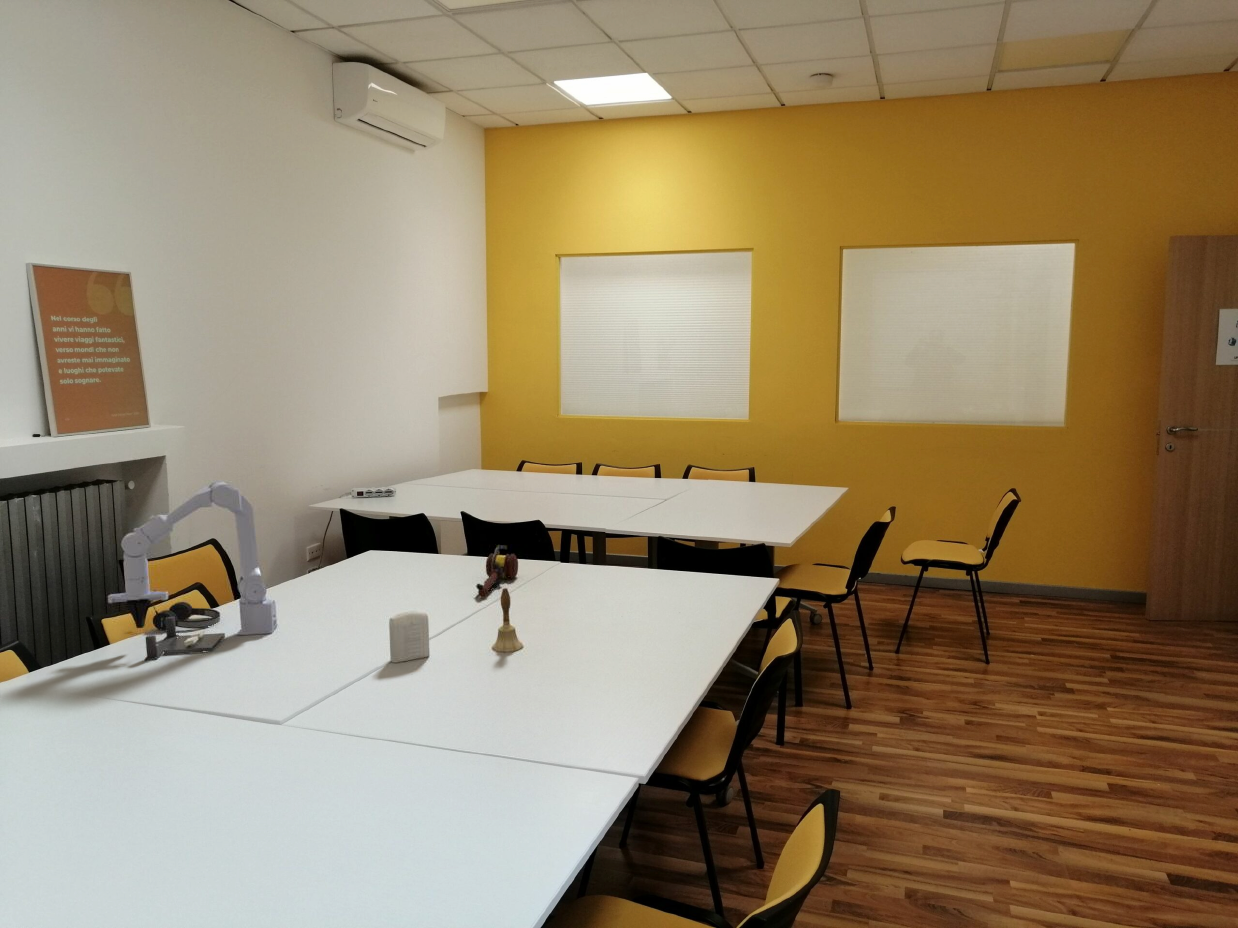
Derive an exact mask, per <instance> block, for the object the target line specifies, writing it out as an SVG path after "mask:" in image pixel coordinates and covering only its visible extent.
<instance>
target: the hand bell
mask: <svg viewBox="0 0 1238 928" xmlns="http://www.w3.org/2000/svg"><path fill="white" fill-rule="evenodd" d="M500 605H501V610H502V624H503V625H501V626H499V627H498V630H497V631H498V632H497V636H496V637H497V638H496V640H495V642H494V643H493V645H492V646H491V650H493V651H494V652H498V653H511V652H512V653H513V652H516V651H520V650H521V649H522V648H524V645H523V643H522V642H521V641H520V639H519V637H518V635H517V633H516V628H515V626H513V625H511V624H510V621H511V620H510V607H511V595H510V593H509V590H508V587H507V588H506V587H503V588H502V590H501V595H500Z"/></svg>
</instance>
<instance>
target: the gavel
mask: <svg viewBox="0 0 1238 928" xmlns="http://www.w3.org/2000/svg"><path fill="white" fill-rule="evenodd" d="M500 549H505V550H507V549H508V547H507V545H496V548H495V549H494V553H490V554H489V555H488V556H487V558H486V561H485V573H486V575H487V576H488V579H487V580H486V581H485V583H484V584H481V583H477V584H476V586H475V587H476V589H477V590H478V591H477V594H478V596H480V597H486V596H488V593H489V592H491V591H492V590H495V589H497V587H498V585H500V583H501V582H502V581H503V579H502V578H504V579H506V580H509V578H510V579H511V580H514V579H515V577H516V576H517V575H518V572H519V561H518V560H519V559H518V558H517V556H516V555H515V553H511V554H509V553H506V555H503V554H500Z"/></svg>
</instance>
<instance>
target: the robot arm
mask: <svg viewBox="0 0 1238 928" xmlns="http://www.w3.org/2000/svg"><path fill="white" fill-rule="evenodd" d="M212 503H213V504H214V505H216V506H217V507H219V508H223V509H227V510H228V511H230V512H232V513H233V514H234V518H235V526H236V527H235V528H236V536H237V548H238V557H239V566H240V567H239V581H238V582H237V589H238V592H239V593H240V594H241V596H240V598H239V601H238V603H239V615H240V616H239V617H240V630H239V631H238V632H237V633H236V635H237V636H245V635H246V636H247V635H248V636H250V635H263V634H265V635H266V634H272V633H274V630H276V628H277V627H278V621H277V620H278V619H277V607H276V602H275V601H276V600H275V599H268V598H267V596H266V594H267V587H266V584H265V583H264V582H263V577H262V573H261V570H260V566H259V558H258V557H259V556H258V548H257V547H258V546H257V539H256V538H257V537H256V529H255V527H256V526H255V517H254V507H253V504H252V503H251V502H250V501H249V500H248V499H247V498H246V497H245V496H244V494H242V493H241V491H240V490H239V489H237V488H236V487H234V486H233V485H231V484H229V483H227V482H226V481H223V480H216V481H213V482H211V484H209V486H205V487H202V488H201V489H199V490H198V491H196V493H194V494H193V495H191V496H190V497H188V498H187V499H186V500H185V501H183V502H182V503H181V504H179V505H178V506H176V507H175V508H173V510H170V512H168V513H167V514H157V515H156V516H155V515H151V516H150V517H149V518H148V519H149V520H148V521H147V522H146V523H144V524H142V525H141V526H139V527H135V528H134V529H133V532H129V533H126V535H125V536H124V537H122V539H121V542H120V546H121V548H122V550H123V551H124V552H123V557H122V558H123V571H124V572H123V575H124V583H125V584H124V585H125V592H122V593H113V594H112V593H110V594H109V595H108V596H107V602H108V604H113V603H120V602H121V603H122V602H123V603H124V602H126V604H125V608H126V610H127V611H128V612H129V613H130V615H131V617H132V618H133V621H134V624H135V626H136V629H143V628H144V627H145V625H146V617H147V615H148V611H149V608H150V606H151V604H152V600H153V601H159V600H160V601H166V600H168V599H169V591H157V590H156V591H154V590H150V589H151V588H150V587H151V586H150V575H149V573H150V572H149V562H148V559H147V550H148V548H149V547H151V546H153V545H155V544H156V543H158V542H159V541H160V540H162V539H163V538H165V537H166V536H167V535H169V534H171V533H172V532H173V530H174V526H175V524H177V523H178V522H180V521H181V520H183V519H185V518H186V517H188V516H189V515H191V514H192V513H193V512H196V511H197V510H199V509H201V508H213V504H212Z"/></svg>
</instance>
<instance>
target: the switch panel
mask: <svg viewBox="0 0 1238 928" xmlns="http://www.w3.org/2000/svg"><path fill="white" fill-rule="evenodd" d="M191 635H192V634H187V635H186V634H185V635H179V636H178V638H176V639H175V640H174V641H173V642H172V643H171V644H170V645H169V646H168V647H167V648H166V649H165V650H164V653H163V655H165V656H166V655H179V654H178V653H184V654H191V653H190V652H200V653H204V652H203V651H212V650H213V649H214V648H215V647H216V646H217V645H220V643H221V642H222V641H223V640H224V639H225V638H226V633H225V632H220V633H204V634H203V635H202V636H201V637H198V640H197V641H196V642H195V643H194V644H190V645H187V646H185V644H184V642H185V641H186V640H187V639H188V638H191ZM224 637H225V638H224ZM223 638H224V639H223ZM222 639H223V640H222ZM221 640H222V641H221ZM217 647H218V646H217ZM217 647H216V648H217ZM216 648H215V649H216ZM215 649H214V650H215ZM214 650H213V651H214ZM213 651H212V652H213Z"/></svg>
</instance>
